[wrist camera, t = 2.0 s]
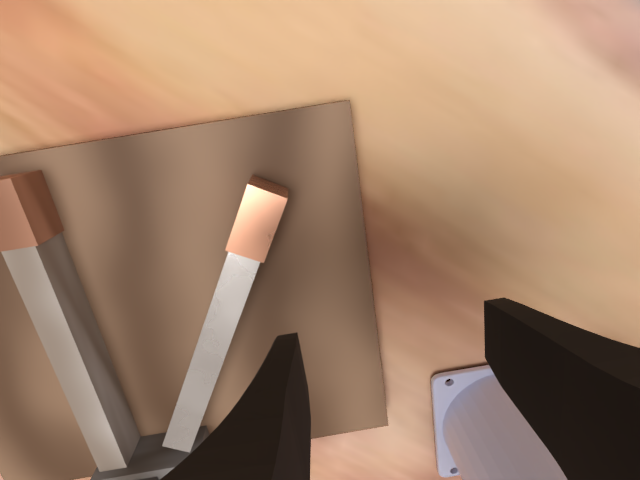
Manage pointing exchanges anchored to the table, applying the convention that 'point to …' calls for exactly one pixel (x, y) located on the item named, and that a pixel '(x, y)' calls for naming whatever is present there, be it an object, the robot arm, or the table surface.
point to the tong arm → (227, 305)
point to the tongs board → (174, 288)
